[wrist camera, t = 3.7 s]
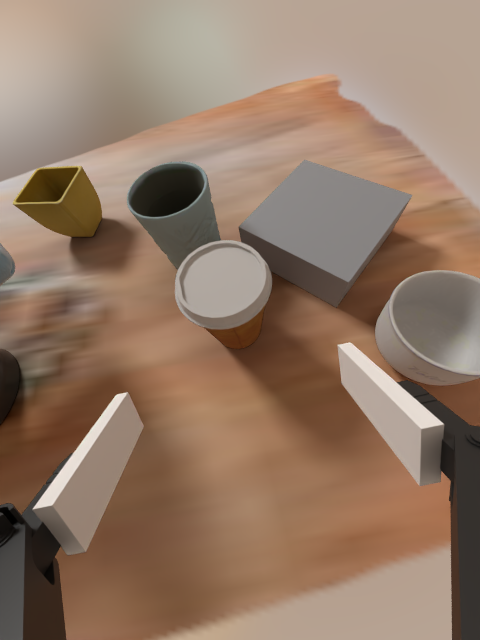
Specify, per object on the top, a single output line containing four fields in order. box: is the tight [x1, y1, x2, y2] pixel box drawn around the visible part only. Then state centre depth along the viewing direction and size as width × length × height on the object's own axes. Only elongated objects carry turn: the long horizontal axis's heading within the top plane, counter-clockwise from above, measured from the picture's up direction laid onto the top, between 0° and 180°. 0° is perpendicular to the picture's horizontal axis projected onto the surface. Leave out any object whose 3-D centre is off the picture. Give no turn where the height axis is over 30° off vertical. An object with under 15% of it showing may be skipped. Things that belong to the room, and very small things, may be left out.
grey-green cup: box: [127, 162, 221, 269], centre depth 34 cm, size 10×10×12 cm
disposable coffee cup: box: [175, 240, 272, 349], centre depth 27 cm, size 10×10×12 cm
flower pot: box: [13, 166, 102, 237], centre depth 42 cm, size 9×9×9 cm
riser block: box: [239, 160, 412, 308], centre depth 34 cm, size 16×16×6 cm
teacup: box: [375, 270, 480, 386], centre depth 25 cm, size 14×11×8 cm
